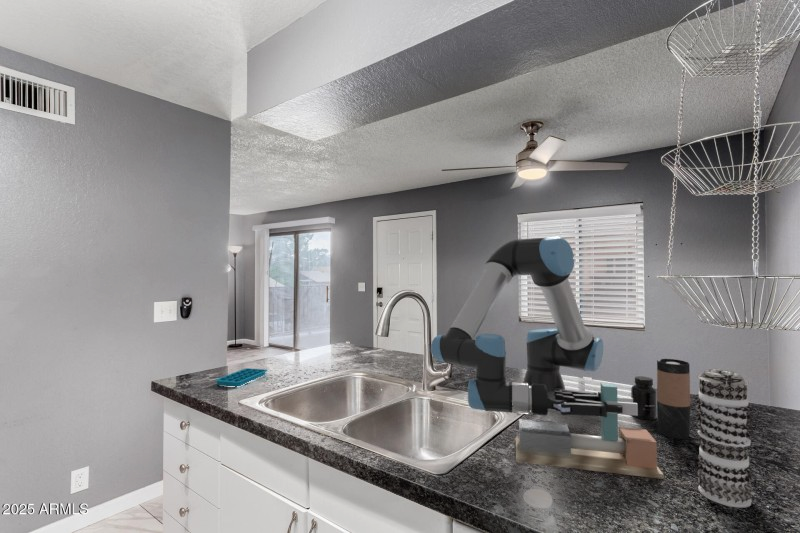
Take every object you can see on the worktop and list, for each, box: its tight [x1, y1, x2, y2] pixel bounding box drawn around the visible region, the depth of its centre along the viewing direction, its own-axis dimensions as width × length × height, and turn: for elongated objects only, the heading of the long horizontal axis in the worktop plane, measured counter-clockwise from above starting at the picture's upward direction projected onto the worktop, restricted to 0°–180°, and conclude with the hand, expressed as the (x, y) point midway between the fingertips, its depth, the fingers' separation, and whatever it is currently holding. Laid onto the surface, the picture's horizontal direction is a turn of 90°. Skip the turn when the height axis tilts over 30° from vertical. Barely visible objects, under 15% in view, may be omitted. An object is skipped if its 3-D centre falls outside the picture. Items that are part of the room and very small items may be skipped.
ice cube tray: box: [214, 367, 268, 387], centre depth 167 cm, size 12×20×3 cm, turn 164°
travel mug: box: [656, 358, 691, 440], centre depth 111 cm, size 8×8×20 cm
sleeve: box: [518, 418, 571, 459], centre depth 100 cm, size 12×7×6 cm, turn 74°
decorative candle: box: [694, 368, 754, 509], centre depth 81 cm, size 9×9×25 cm
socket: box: [618, 426, 658, 469], centre depth 94 cm, size 6×7×6 cm
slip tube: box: [570, 382, 626, 454], centre depth 97 cm, size 16×4×16 cm, turn 74°
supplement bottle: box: [630, 375, 658, 421], centre depth 124 cm, size 7×7×12 cm
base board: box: [515, 436, 664, 480], centre depth 97 cm, size 31×12×1 cm, turn 74°
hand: (634, 406), depth 94 cm, fingers closed on slip tube, 3 cm apart
